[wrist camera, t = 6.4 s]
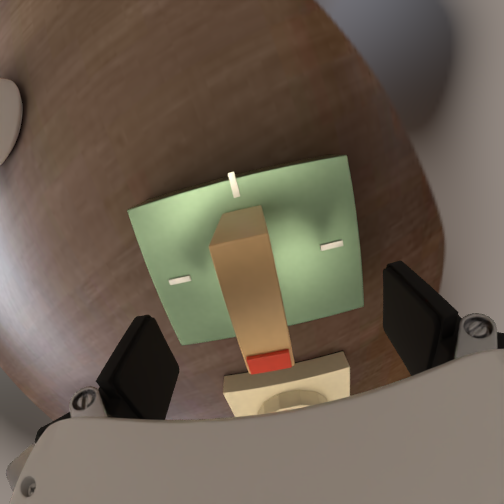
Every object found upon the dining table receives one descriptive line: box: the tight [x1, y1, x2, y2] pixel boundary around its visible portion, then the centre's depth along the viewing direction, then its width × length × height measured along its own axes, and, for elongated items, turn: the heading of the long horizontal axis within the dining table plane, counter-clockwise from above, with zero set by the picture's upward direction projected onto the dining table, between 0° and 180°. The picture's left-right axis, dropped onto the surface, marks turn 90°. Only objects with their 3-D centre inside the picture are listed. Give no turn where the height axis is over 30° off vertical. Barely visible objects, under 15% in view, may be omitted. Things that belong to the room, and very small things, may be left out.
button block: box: [223, 351, 350, 417], centre depth 22 cm, size 11×9×4 cm
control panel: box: [127, 154, 364, 345], centre depth 17 cm, size 13×11×3 cm
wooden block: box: [209, 205, 295, 375], centre depth 13 cm, size 6×2×6 cm, turn 13°
